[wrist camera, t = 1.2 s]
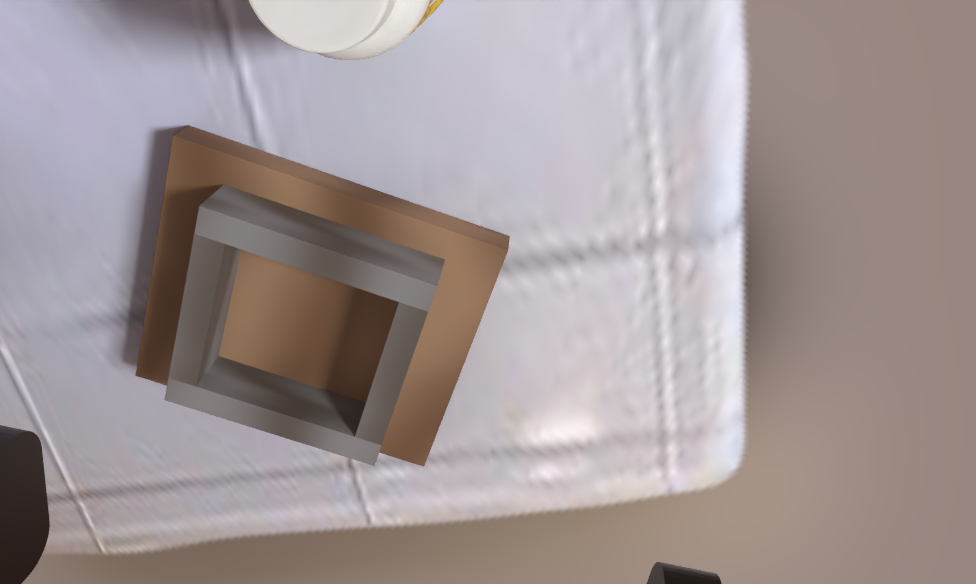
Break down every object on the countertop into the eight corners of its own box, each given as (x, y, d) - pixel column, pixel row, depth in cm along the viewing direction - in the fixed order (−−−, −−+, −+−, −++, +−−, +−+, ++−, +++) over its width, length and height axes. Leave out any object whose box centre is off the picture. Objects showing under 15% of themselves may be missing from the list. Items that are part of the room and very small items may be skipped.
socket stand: (150, 358, 37) (108, 406, 34) (188, 125, 32) (143, 153, 29) (428, 446, 39) (415, 502, 35) (509, 236, 33) (504, 276, 30)
